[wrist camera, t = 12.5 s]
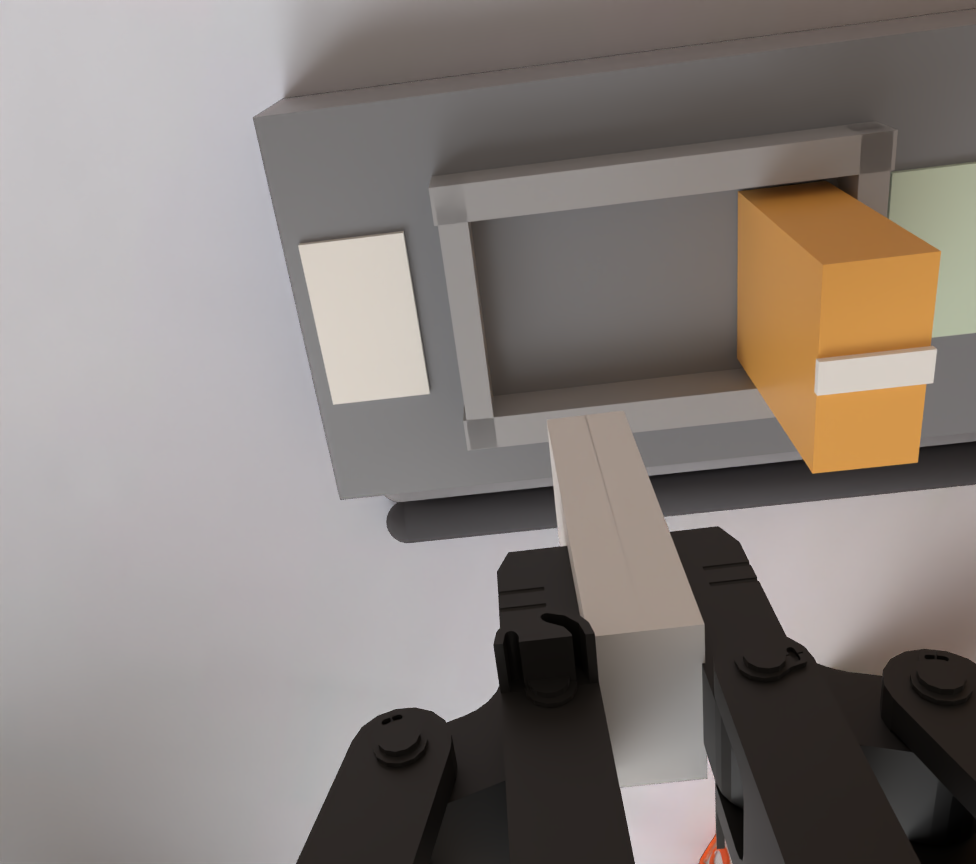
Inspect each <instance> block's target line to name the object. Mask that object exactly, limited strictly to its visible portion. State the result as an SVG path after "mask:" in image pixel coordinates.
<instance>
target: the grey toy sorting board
mask: <svg viewBox="0 0 976 864" xmlns="http://www.w3.org/2000/svg"><path fill="white" fill-rule="evenodd" d="M253 121H254V125H255V129H256V134H257V138H258V142H259V147H260V151H261V156H262V160H263V164H264V169H265V173H266V177H267V182H268V186H269V191H270V195H271V199H272V204H273V208H274V212H275V217H276V221H277V226H278V230H279V234H280V239H281V243H282V247H283V252H284V256H285V261H286V265H287V269H288V274H289V278H290V282H291V287H292V291H293V296H294V300H295V304H296V309H297V313H298V317H299V322H300V326H301V331H302V335H303V339H304V344H305V348H306V352H307V357H308V361H309V366H310V370H311V374H312V379H313V383H314V387H315V392H316V396H317V401H318V405H319V409H320V414H321V418H322V422H323V427H324V431H325V436H326V440H327V444H328V449H329V453H330V457H331V462H332V466H333V471H334V475H335V479H336V484H337V488H338V492H339V497H340V500H344V499H353V498H363V497H372V496H381V495H391V494H400V493H410V492H419V491H428V490H438V489H447V488H457V487H466V486H475V485H485V484H494V483H504V482H513V481H522V480H532V479H541V478H551V477H552V468H551V458H550V448H549V439H548V429H547V420H548V419H557V418H565V417H573V416H582V415H590V414H599V413H607V412H616V411H624V413H625V416H626V418H627V421H628V424H629V426H630V429H631V431H632V434H633V437H634V439H635V442H636V445H637V447H638V450H639V453H640V455H641V458H642V460H643V463H644V466H645V467H654V466H664V465H673V464H682V463H692V462H701V461H711V460H720V459H729V458H739V457H748V456H758V455H767V454H776V453H786V452H795V451H797V449H796V448H795V446H794V445H793V443H792V442H791V440H790V438H789V437H788V435H787V434H786V432H785V431H784V429H783V428H782V426H781V425H780V423H779V422H778V420H777V419H776V417H775V416H774V414H773V412H772V411H771V409H770V408H769V406H768V405H767V403H766V402H765V400H764V399H763V397H762V396H761V394H760V393H759V391H758V390H757V388H756V386H755V385H754V383H753V382H752V380H751V379H750V377H749V376H748V374H747V373H746V371H745V370H744V368H743V367H742V365H741V364H740V362H739V360H738V359H737V272H738V191H745V190H753V189H761V188H769V187H778V186H786V185H794V184H802V183H811V182H819V181H827V182H829V183H831V184H832V185H834V186H836V187H837V188H839V189H840V190H842V191H844V192H845V193H847V194H849V195H850V196H852V197H853V198H855V199H857V200H858V201H860V202H862V203H863V204H865V205H867V206H868V207H870V208H871V209H873V210H875V211H876V212H878V213H880V214H881V215H883V216H885V217H886V218H888V219H889V220H891V221H893V222H894V223H896V224H898V225H899V226H901V227H902V228H904V229H906V230H907V231H909V232H911V233H912V234H914V235H916V236H917V237H919V238H920V239H922V240H924V241H925V242H927V243H929V244H930V245H932V246H933V247H935V248H937V249H938V250H940V251H941V257H940V266H939V275H938V284H937V293H936V302H935V311H934V320H933V329H932V338H931V346H934V347H935V348H936V349H937V355H936V364H935V373H934V381H933V383H930V384H926V393H925V402H924V411H923V420H922V429H921V438H927V437H936V436H946V435H955V434H964V433H974V432H976V9H968V10H961V11H953V12H945V13H938V14H930V15H922V16H914V17H907V18H899V19H891V20H884V21H876V22H868V23H861V24H853V25H845V26H837V27H830V28H822V29H814V30H807V31H799V32H791V33H784V34H776V35H768V36H761V37H753V38H745V39H737V40H730V41H722V42H714V43H707V44H699V45H691V46H684V47H676V48H668V49H660V50H653V51H645V52H637V53H630V54H622V55H614V56H607V57H599V58H591V59H584V60H576V61H568V62H560V63H553V64H545V65H537V66H530V67H522V68H514V69H507V70H499V71H491V72H483V73H476V74H468V75H460V76H453V77H445V78H437V79H430V80H422V81H414V82H406V83H399V84H391V85H383V86H376V87H368V88H360V89H353V90H345V91H337V92H330V93H322V94H314V95H306V96H299V97H291V98H283V99H281V100H280V101H278V102H276V103H275V104H273V105H272V106H270V107H269V108H267V109H265V110H264V111H262V112H261V113H259V114H258V115H256V116H254V117H253Z"/></svg>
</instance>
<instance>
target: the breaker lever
mask: <svg viewBox="0 0 976 864" xmlns="http://www.w3.org/2000/svg"><path fill="white" fill-rule="evenodd" d="M940 257H941V251H940V250H938V249H937V248H935V247H933V246H932V245H930V244H929V243H927V242H925V241H924V240H922V239H920V238H919V237H917V236H916V235H914V234H912V233H911V232H909V231H907V230H906V229H904V228H902V227H901V226H899V225H898V224H896V223H894V222H893V221H891V220H889V219H888V218H886V217H885V216H883V215H881V214H880V213H878V212H876V211H875V210H873V209H871V208H870V207H868V206H867V205H865V204H863V203H862V202H860V201H858V200H857V199H855V198H853V197H852V196H850V195H849V194H847V193H845V192H844V191H842V190H840V189H839V188H837V187H836V186H834V185H832V184H831V183H829V182H827V181H819V182H811V183H802V184H794V185H786V186H778V187H769V188H761V189H753V190H745V191H738V272H737V359H738V360H739V362H740V364H741V365H742V367H743V368H744V370H745V371H746V373H747V374H748V376H749V377H750V379H751V380H752V382H753V383H754V385H755V386H756V388H757V390H758V391H759V393H760V394H761V396H762V397H763V399H764V400H765V402H766V403H767V405H768V406H769V408H770V409H771V411H772V412H773V414H774V416H775V417H776V419H777V420H778V422H779V423H780V425H781V426H782V428H783V429H784V431H785V432H786V434H787V435H788V437H789V438H790V440H791V442H792V443H793V445H794V446H795V448H796V449H797V451H798V452H799V454H800V455H801V457H802V458H803V460H804V461H805V463H806V464H807V466H808V468H809V469H810V471H811V472H812V474H814V473H823V472H833V471H843V470H852V469H862V468H871V467H881V466H890V465H900V464H909V463H918V456H919V447H920V438H921V429H922V420H923V411H924V402H925V393H926V384H930V383H933V381H934V373H935V364H936V355H937V349H936V348H935V347H934V346H931V338H932V329H933V320H934V311H935V302H936V293H937V284H938V275H939V266H940Z"/></svg>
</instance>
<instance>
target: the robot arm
mask: <svg viewBox="0 0 976 864" xmlns="http://www.w3.org/2000/svg"><path fill="white" fill-rule="evenodd" d="M547 429H548V439H549V448H550V458H551V468H552V478H553V488H554V497H555V507H556V517H557V527H558V537H559V543H560V547H552V548H543V549H534V550H525V551H517V552H508V554H507V556H506V557H505V559H504V561H503V562H502V564H501V566H500V568H499V569H498V571H497V579H498V594H499V596H498V598H499V616H500V629H499V630H498V631H497V633H496V637H495V641H494V652H495V658H496V665H497V672H498V679H499V685H500V686H499V688H498V690H497V692H496V693H495V694H494V695H493V697H492V698H491V699H490V700H489V701H488V702H487V703H486V704H484V705H483V706H482V707H480V708H479V709H477V710H476V711H474V712H471V713H469V714H467V715H465V716H463V717H460V718H458V719H455V720H452V721H450V722H447V723H446V721H445V720H444V719H442V718H441V717H439V716H438V715H437V714H435V713H434V712H432V711H428V710H424V709H419V708H404V709H395V710H392V711H390V712H387V713H384V714H381V715H379V716H377V717H375V718H374V719H373V720H371V721H370V722H368V723H367V724H366V725H364V726H363V727H362V728H361V729H360V731H359V732H358V734H357V735H356V736H355V738H354V739H353V741H352V742H351V745H350V747H349V749H348V751H347V753H346V756H345V758H344V760H343V762H342V764H341V767H340V769H339V771H338V773H337V775H336V778H335V780H334V782H333V784H332V786H331V788H330V791H329V793H328V795H327V797H326V799H325V802H324V804H323V806H322V808H321V810H320V813H319V815H318V817H317V819H316V821H315V824H314V826H313V828H312V830H311V832H310V835H309V837H308V839H307V841H306V843H305V845H304V848H303V850H302V852H301V854H300V856H299V859H298V861H297V863H296V864H635V862H634V857H633V852H632V847H631V841H630V836H629V831H628V826H627V821H626V816H625V811H624V806H623V801H622V796H621V791H620V788H622V787H632V786H641V785H651V784H661V783H670V782H680V781H689V780H699V779H707V756H708V759H709V762H710V765H711V768H712V771H713V775H714V778H715V799H716V844H717V849H725V841H726V844H727V847H728V851H729V854H730V857H731V860H732V864H976V664H975V663H974V662H972V661H971V660H969V659H967V658H964V657H961V656H958V655H955V654H952V653H949V652H947V651H938V650H929V649H921V650H914V651H906V652H903V653H902V654H900V655H898V656H896V657H894V658H892V659H890V661H889V662H888V664H887V665H886V667H885V668H884V670H883V676H877V675H868V674H860V673H852V672H846V671H841V670H835V669H831V668H829V667H826V666H823V665H820V664H817V663H816V661H815V659H814V657H813V656H812V655H811V654H810V653H809V652H808V650H807V649H806V648H805V647H804V646H802V645H801V644H799V643H797V642H795V641H794V640H792V639H790V638H788V637H786V635H785V633H784V631H783V629H782V627H781V625H780V623H779V621H778V619H777V617H776V615H775V613H774V611H773V609H772V607H771V605H770V602H769V600H768V598H767V596H766V594H765V592H764V590H763V588H762V586H761V584H760V582H759V581H757V576H756V574H755V572H754V570H753V568H752V566H751V565H749V560H748V558H747V556H746V554H745V552H744V550H743V548H742V546H741V544H740V542H739V541H737V540H736V539H735V538H733V537H732V536H731V535H729V534H728V533H727V532H725V531H724V530H723V529H721V528H720V527H718V526H717V527H709V528H700V529H691V530H682V531H674V532H669V529H668V527H667V524H666V521H665V519H664V516H663V513H662V511H661V508H660V505H659V503H658V500H657V497H656V495H655V492H654V490H653V487H652V484H651V482H650V479H649V476H648V474H647V471H646V468H645V466H644V463H643V460H642V458H641V455H640V453H639V450H638V447H637V445H636V442H635V439H634V437H633V434H632V431H631V429H630V426H629V424H628V421H627V418H626V416H625V413H624V411H616V412H607V413H599V414H590V415H582V416H573V417H565V418H557V419H548V420H547Z"/></svg>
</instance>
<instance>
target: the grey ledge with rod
mask: <svg viewBox="0 0 976 864" xmlns="http://www.w3.org/2000/svg"><path fill="white" fill-rule="evenodd" d="M645 468H646V471H647V474H648V476H649V479H650V482H651V484H652V487H653V490H654V492H655V495H656V497H657V500H658V503H659V505H660V508H661V511H662V513H663V516H664V517H665V516H675V515H685V514H694V513H704V512H714V511H723V510H733V509H743V508H752V507H762V506H772V505H781V504H791V503H801V502H810V501H820V500H830V499H839V498H849V497H859V496H868V495H878V494H888V493H897V492H907V491H917V490H926V489H936V488H946V487H955V486H965V485H975V484H976V432H974V433H964V434H955V435H946V436H936V437H927V438H920V447H919V456H918V463H909V464H900V465H890V466H881V467H871V468H862V469H852V470H843V471H833V472H823V473H814V474H812V472H811V471H810V469H809V468H808V466H807V464H806V463H805V461H804V460H803V458H802V457H801V455H800V454H799V452H798V451H795V452H786V453H776V454H767V455H758V456H748V457H739V458H729V459H720V460H711V461H701V462H692V463H682V464H673V465H664V466H654V467H645ZM385 497H387V498H388V499H390V500H392V501H396V502H398V503H397V504H395V505H394V506H393V507H392V508H391V509H390V511H389V513H388V515H387V528H388V531H389V532H390V534H391V535H392V536H393V537H394V538H395V539H396V540H398V541H400V542H404V543H414V542H424V541H433V540H443V539H453V538H462V537H472V536H482V535H491V534H501V533H511V532H520V531H530V530H540V529H549V528H558V527H557V517H556V507H555V497H554V488H553V478H552V477H551V478H541V479H532V480H522V481H513V482H504V483H494V484H485V485H475V486H466V487H457V488H447V489H438V490H428V491H419V492H410V493H400V494H391V495H385Z"/></svg>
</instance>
